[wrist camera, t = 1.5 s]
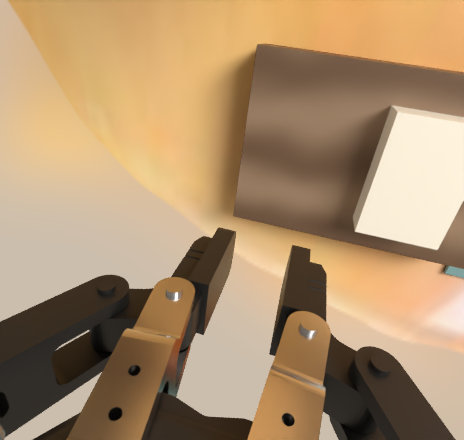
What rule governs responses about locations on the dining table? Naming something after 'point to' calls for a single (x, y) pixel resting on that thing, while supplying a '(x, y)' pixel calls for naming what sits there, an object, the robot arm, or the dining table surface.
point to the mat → (454, 271)
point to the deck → (332, 141)
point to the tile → (414, 178)
